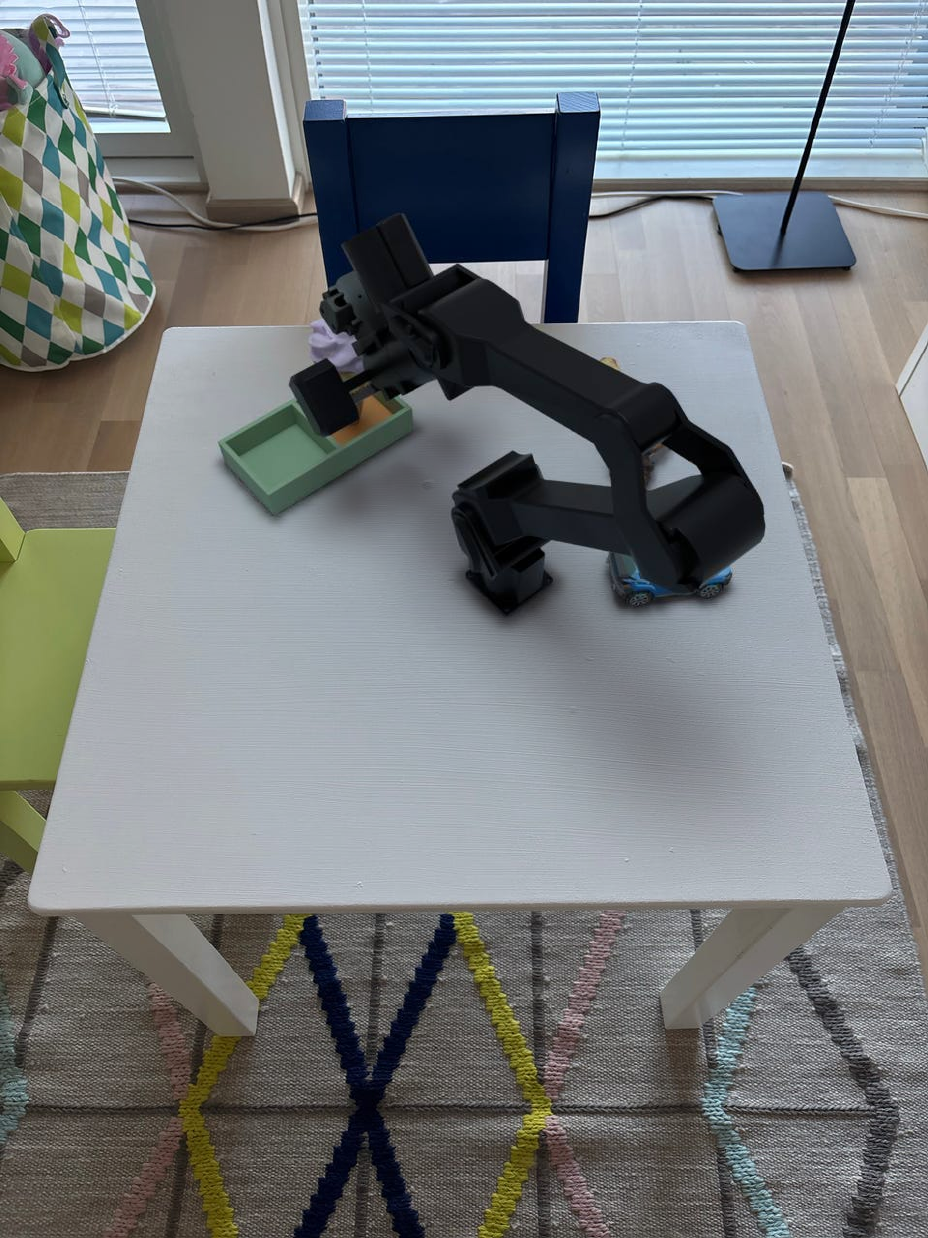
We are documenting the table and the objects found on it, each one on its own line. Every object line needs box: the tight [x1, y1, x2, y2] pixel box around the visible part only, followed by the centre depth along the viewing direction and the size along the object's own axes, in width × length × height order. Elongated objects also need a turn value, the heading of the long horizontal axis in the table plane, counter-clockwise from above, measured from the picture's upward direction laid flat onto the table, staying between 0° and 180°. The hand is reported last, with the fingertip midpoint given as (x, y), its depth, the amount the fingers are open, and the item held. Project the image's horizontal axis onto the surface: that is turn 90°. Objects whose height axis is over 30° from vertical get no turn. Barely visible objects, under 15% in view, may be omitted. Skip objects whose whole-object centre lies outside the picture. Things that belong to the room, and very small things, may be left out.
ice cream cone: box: [307, 317, 368, 426], centre depth 96 cm, size 7×6×15 cm
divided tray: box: [217, 381, 415, 516], centre depth 100 cm, size 10×19×3 cm, turn 130°
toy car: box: [605, 552, 733, 607], centre depth 89 cm, size 6×12×6 cm, turn 96°
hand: (360, 376), depth 94 cm, fingers open, 9 cm apart
